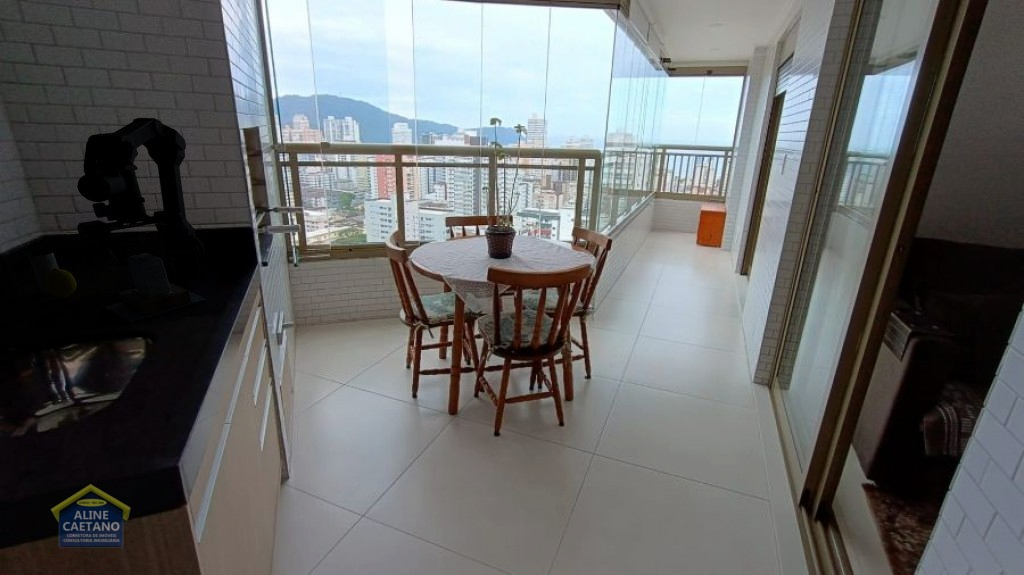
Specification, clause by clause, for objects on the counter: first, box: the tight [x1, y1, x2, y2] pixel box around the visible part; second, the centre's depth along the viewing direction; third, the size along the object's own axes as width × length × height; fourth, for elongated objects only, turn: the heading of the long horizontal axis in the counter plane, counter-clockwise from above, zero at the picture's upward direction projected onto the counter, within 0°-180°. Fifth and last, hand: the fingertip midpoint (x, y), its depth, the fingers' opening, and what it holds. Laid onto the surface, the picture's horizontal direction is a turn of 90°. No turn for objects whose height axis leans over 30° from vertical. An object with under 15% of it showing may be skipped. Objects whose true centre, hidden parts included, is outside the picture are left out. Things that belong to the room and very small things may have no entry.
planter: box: [27, 250, 60, 295], centre depth 116 cm, size 4×4×10 cm
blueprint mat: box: [104, 291, 207, 324], centre depth 113 cm, size 16×14×1 cm
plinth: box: [118, 281, 191, 316], centre depth 112 cm, size 10×12×3 cm
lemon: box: [44, 268, 77, 299], centre depth 113 cm, size 6×6×8 cm
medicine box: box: [126, 252, 171, 297], centre depth 110 cm, size 8×4×9 cm, turn 59°
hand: (143, 258), depth 109 cm, fingers open, 9 cm apart
